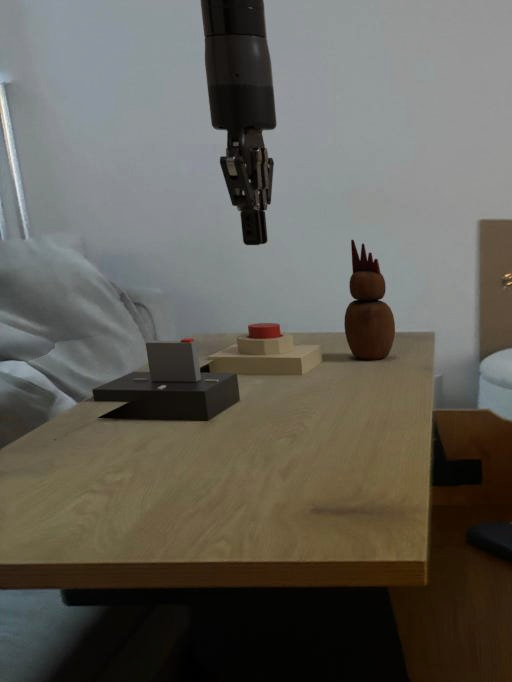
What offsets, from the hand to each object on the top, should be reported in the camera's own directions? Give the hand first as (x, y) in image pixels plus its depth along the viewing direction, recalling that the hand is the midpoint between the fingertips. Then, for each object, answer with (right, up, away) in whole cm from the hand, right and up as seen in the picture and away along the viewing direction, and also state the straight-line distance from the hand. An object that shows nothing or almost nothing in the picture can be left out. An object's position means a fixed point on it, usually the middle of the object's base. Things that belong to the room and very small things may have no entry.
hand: (255, 243), depth 122 cm
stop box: (0, -14, +6) cm, 15 cm away
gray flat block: (-5, -21, -17) cm, 28 cm away
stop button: (0, -10, +5) cm, 11 cm away
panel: (-6, -24, -16) cm, 29 cm away
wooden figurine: (+13, -11, +13) cm, 21 cm away
